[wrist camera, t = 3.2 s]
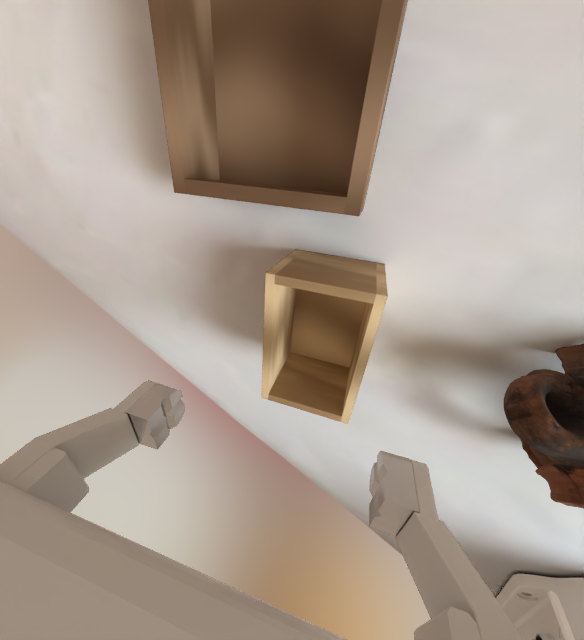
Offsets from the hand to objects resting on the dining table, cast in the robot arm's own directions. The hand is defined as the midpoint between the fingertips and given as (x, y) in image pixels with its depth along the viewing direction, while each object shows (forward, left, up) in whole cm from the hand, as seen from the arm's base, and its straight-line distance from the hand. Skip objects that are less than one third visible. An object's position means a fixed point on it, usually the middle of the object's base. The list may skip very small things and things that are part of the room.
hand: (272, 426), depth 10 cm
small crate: (0, 0, -11) cm, 11 cm away
